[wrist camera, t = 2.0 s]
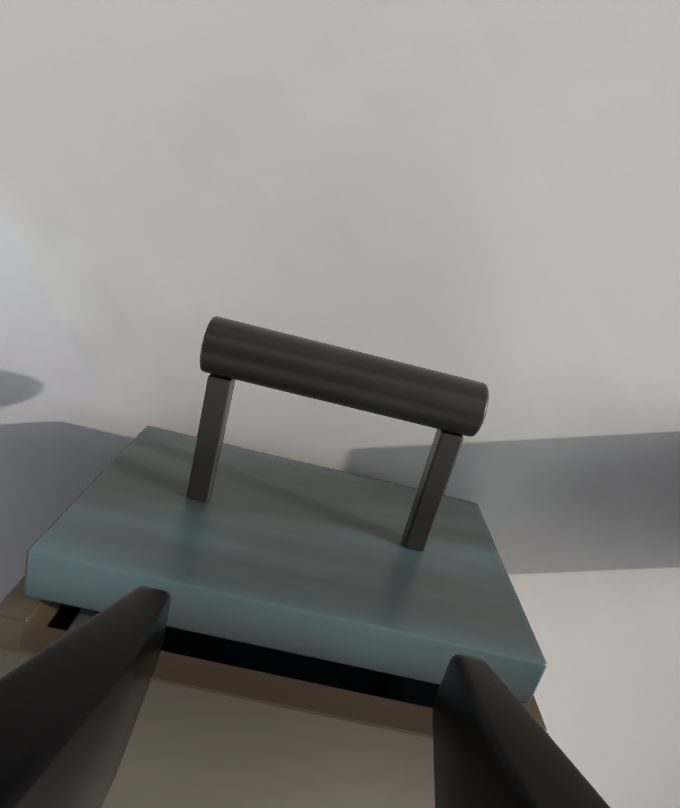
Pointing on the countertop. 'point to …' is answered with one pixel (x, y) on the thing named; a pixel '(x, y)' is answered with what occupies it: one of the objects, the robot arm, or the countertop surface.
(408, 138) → the countertop surface
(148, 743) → the cabinet
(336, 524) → the drawer
